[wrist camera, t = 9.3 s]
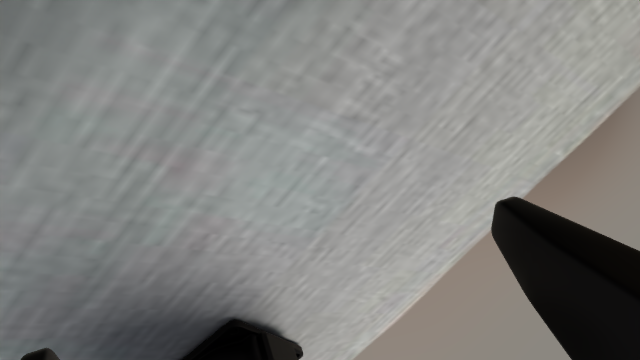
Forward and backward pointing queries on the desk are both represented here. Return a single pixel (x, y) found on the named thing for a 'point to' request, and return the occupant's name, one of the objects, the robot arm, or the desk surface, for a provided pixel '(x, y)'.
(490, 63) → the desk surface
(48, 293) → the desk surface
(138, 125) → the desk surface
